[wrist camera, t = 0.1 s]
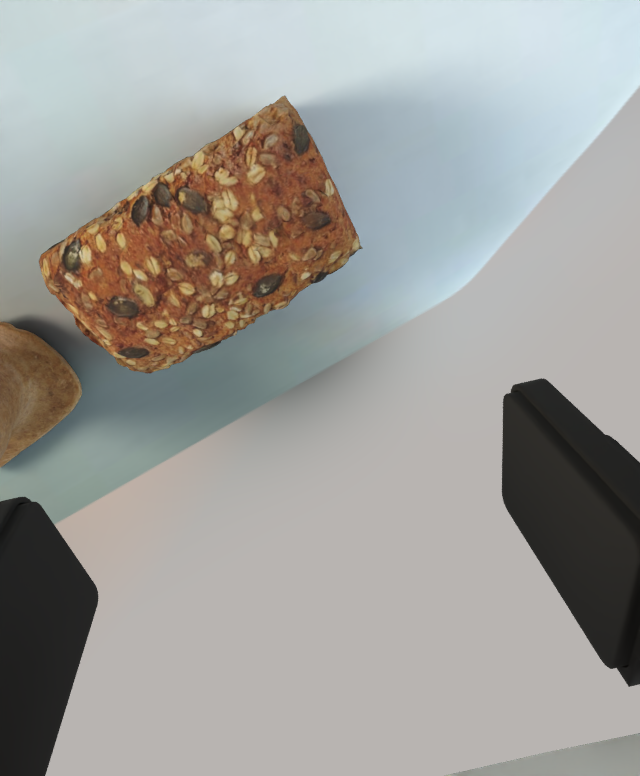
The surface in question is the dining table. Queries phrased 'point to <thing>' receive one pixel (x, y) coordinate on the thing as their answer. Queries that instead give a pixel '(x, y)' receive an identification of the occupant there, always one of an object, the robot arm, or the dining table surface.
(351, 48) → the dining table surface
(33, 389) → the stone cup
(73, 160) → the dining table surface
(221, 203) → the bread
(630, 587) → the robot arm
